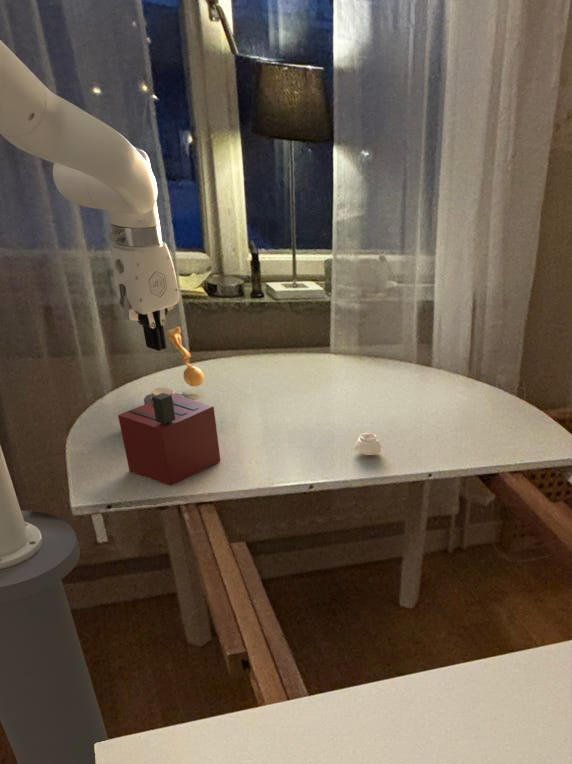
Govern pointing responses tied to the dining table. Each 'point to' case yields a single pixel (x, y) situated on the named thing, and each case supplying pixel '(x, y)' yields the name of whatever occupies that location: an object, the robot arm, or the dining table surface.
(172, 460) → the toaster
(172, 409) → the slider
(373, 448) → the white jar
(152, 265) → the robot arm
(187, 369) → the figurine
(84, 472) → the dining table surface
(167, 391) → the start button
